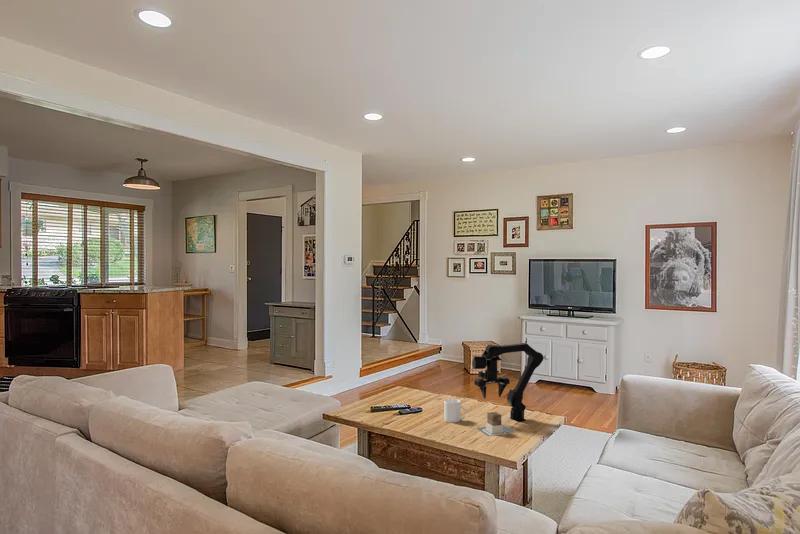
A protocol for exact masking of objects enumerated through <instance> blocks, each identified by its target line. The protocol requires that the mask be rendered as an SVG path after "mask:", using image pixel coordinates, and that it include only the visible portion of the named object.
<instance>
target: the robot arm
mask: <svg viewBox="0 0 800 534" xmlns="http://www.w3.org/2000/svg"><path fill="white" fill-rule="evenodd" d="M518 352H524V353H525V354H526V355H527V359H526V361H527V362H526V366H525V368H524V370H523V371H522V373H521V376H520V378H519V379H518V382H517V384H516V386H515V387H514V388H513V389H511V388H510V389H509V391H508V393H507V394H506V396H507V397H506V401H507V403H508V404H509V406H510V407H511V408H510V417H509V419H510V420H512V421H514V422H516V423H518V422H524V421H527V419H526V418H525V410H526V408H527V407H526V405H525V404H524V403H523V398H524V392H525V389H526V388H527V386H528V384H529V381H530V379H531V378H532V376H533V374H534V372H535V370H536V369H537V368H538V367H540V365H541V364H542V362H543V361H544V358H545V357H544V355H543V354H542V353H541V352H539V351H536V350H535V349H534V348H533V347H532V346H530V345H529V344H528V343H526V342H522V343H512V344H504V345H502V344H499V345H498V344H492V343H491V344H487V345H486V347H485V349H484V352H483V353H482V354H481V355H480V356H479V355H473V358H472V361H471V364H472V369H473V370H480V371H478V372H477V373H478V374H477V375H478V378H476V379H474V381H473V382H474V385H475V386H477V387H478V388H479V389H480V391H481V393H482V396H483V399H486V398H487V386H486V385H488V384H497V386H498V392H497V394H498V398H500V397H501V396H502V395H503V392H504V390H505V388H506V387H507V386H508V385H509V384H510V382H511V381H510V378H509V377H506V376H498V374H499V373H500V371H499V370H498V361H502V358H501V357H500V356H502V355H503V354H507V353H508V354H510V353H518ZM483 369H484V371H482V370H483Z"/></svg>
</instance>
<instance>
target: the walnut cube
mask: <svg viewBox="0 0 800 534" xmlns="http://www.w3.org/2000/svg"><path fill="white" fill-rule="evenodd" d="M486 415H487V416H486V417H487V418H486V419H487V422H486V423H488V424H490V425H492V426H496V425H501V424H502V414H501V413H499V412H497V411H493V412H487V413H486Z"/></svg>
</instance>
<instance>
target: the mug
mask: <svg viewBox="0 0 800 534" xmlns="http://www.w3.org/2000/svg"><path fill="white" fill-rule="evenodd" d="M443 401H444V402H443V403H444V408H443V412H444V413H443V414H444V416H443V419H444V421H445V422H446V423H449V424H453V423H460V422H461V421H462V420H464V419H465V417H466V414H467V411H466V408H465V407H464V406H463V405H462V404H461V400H459V399H457V398H447V399H445V400H443ZM461 409H462V410H463V411H464V415H463V416H462V415H461Z"/></svg>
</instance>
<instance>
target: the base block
mask: <svg viewBox="0 0 800 534" xmlns="http://www.w3.org/2000/svg"><path fill="white" fill-rule="evenodd" d="M503 425H504V424H503V423H501V425H496V426H492V425H490V424H488V423H487V422H485V427H486V431H487V432H489V433H490V434H492V435H493V434H500V433H503Z"/></svg>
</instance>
